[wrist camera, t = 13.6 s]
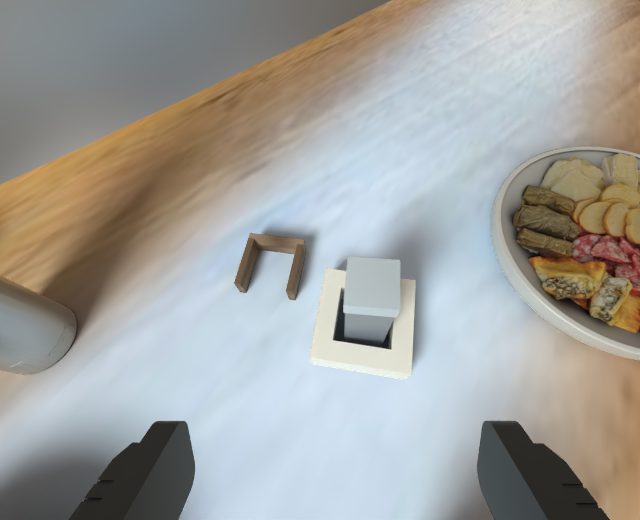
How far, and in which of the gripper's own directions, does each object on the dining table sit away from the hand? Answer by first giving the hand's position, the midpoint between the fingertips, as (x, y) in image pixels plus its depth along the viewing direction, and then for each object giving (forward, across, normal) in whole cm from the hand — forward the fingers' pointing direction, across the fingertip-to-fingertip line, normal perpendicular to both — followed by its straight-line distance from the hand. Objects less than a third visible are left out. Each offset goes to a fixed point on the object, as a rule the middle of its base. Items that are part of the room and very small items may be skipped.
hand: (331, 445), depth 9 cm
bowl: (+37, -36, +7) cm, 52 cm away
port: (+30, -3, +13) cm, 33 cm away
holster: (+36, +8, +7) cm, 38 cm away
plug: (+30, -4, +13) cm, 33 cm away
